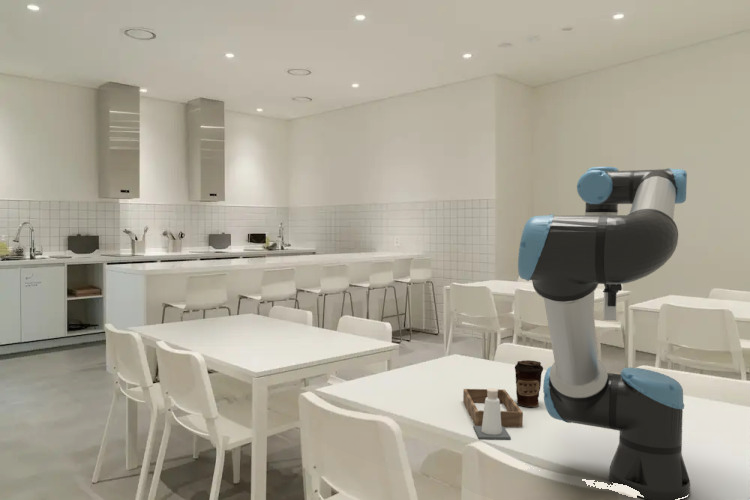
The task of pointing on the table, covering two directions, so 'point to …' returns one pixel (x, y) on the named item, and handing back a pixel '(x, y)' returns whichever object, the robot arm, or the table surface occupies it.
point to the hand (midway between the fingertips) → (598, 315)
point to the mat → (502, 436)
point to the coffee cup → (528, 382)
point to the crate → (507, 417)
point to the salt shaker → (492, 413)
